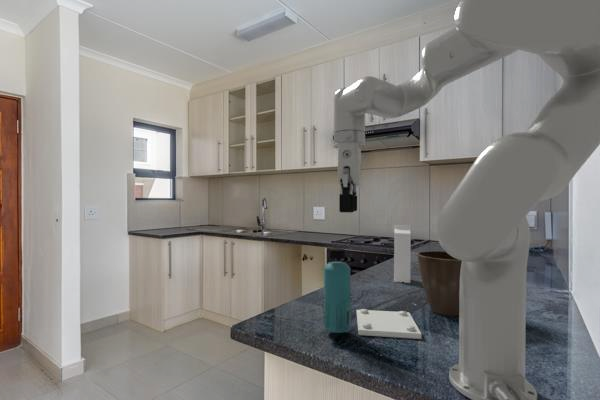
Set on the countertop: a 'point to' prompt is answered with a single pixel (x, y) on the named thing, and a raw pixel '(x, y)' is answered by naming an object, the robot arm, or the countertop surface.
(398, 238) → the milk
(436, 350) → the countertop surface
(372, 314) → the base plate
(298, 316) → the countertop surface
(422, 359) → the countertop surface
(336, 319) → the beverage bottle
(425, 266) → the plant pot
